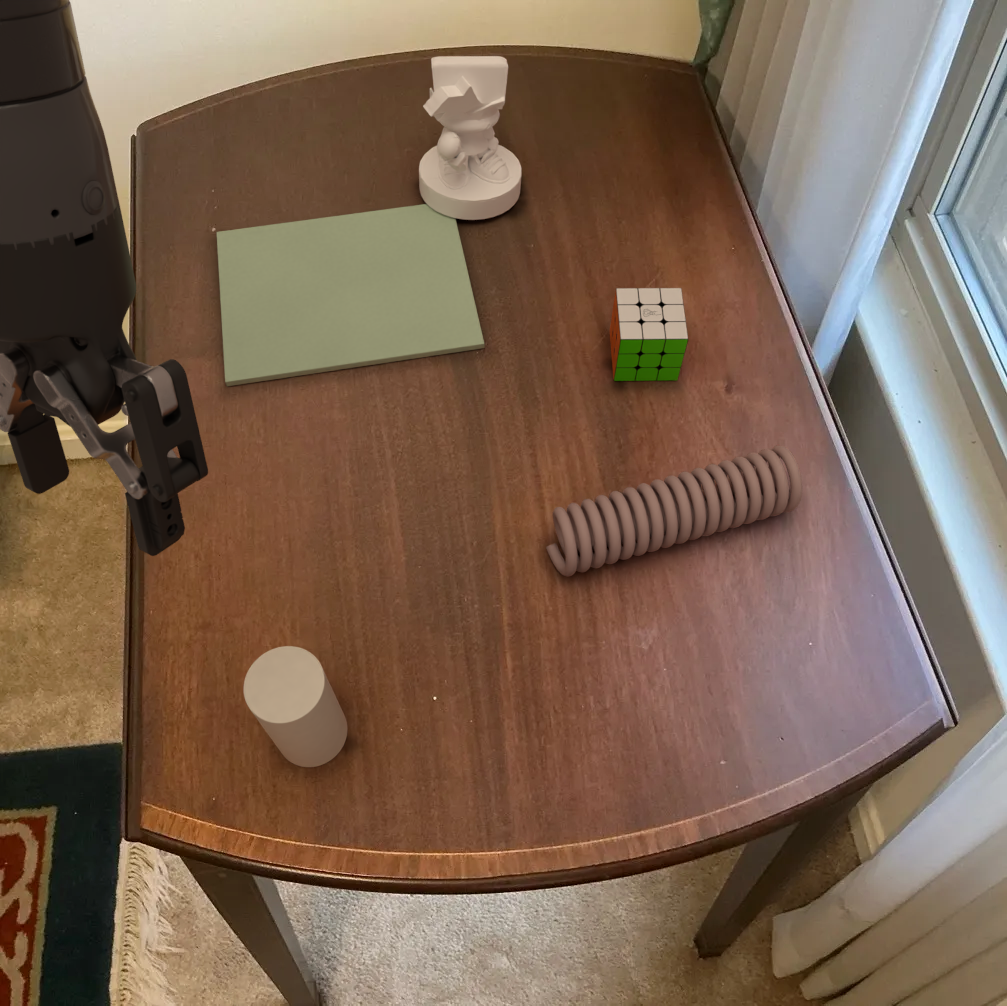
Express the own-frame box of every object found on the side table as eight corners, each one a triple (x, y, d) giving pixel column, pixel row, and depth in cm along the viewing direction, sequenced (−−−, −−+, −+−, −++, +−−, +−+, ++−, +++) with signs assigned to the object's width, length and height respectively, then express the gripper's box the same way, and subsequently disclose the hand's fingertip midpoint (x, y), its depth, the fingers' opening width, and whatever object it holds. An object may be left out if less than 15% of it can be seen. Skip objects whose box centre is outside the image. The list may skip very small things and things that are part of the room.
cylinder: (279, 773, 59) (245, 730, 51) (274, 704, 61) (241, 653, 53) (351, 760, 59) (328, 715, 51) (343, 692, 61) (320, 639, 54)
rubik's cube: (677, 381, 74) (688, 339, 70) (612, 381, 74) (619, 339, 70) (672, 330, 76) (682, 287, 72) (609, 330, 76) (615, 287, 72)
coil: (786, 429, 66) (539, 497, 64) (820, 480, 64) (563, 554, 61) (773, 470, 70) (539, 537, 67) (804, 520, 67) (561, 591, 65)
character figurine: (421, 221, 81) (418, 90, 71) (416, 151, 86) (413, 20, 76) (525, 218, 82) (536, 89, 72) (513, 149, 87) (522, 19, 77)
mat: (226, 386, 74) (224, 382, 73) (218, 236, 81) (216, 231, 81) (484, 348, 75) (484, 343, 75) (451, 205, 83) (451, 200, 83)
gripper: (-173, 186, 39) (-50, 501, 49) (54, 275, 34) (142, 612, 43) (-8, 142, 45) (73, 435, 54) (214, 213, 39) (260, 527, 49)
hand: (104, 514), depth 49 cm, fingers open, 8 cm apart
